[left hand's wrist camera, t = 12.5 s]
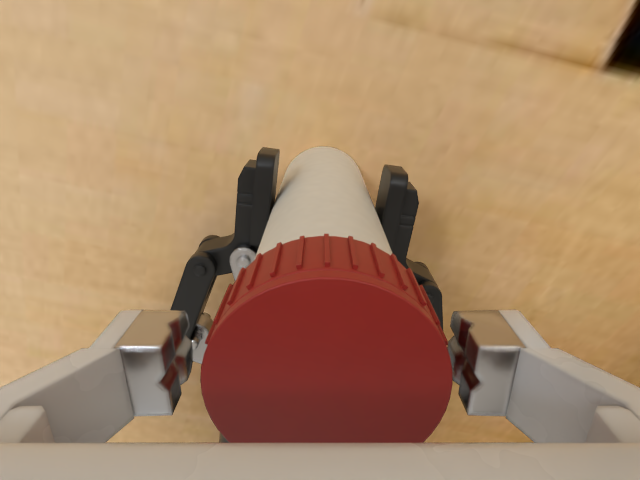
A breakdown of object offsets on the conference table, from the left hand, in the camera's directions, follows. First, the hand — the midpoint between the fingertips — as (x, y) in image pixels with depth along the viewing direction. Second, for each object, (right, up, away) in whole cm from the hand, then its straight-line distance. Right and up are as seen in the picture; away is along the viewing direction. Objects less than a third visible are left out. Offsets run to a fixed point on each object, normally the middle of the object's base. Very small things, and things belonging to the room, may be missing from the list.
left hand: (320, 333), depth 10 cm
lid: (0, -1, -2) cm, 2 cm away
